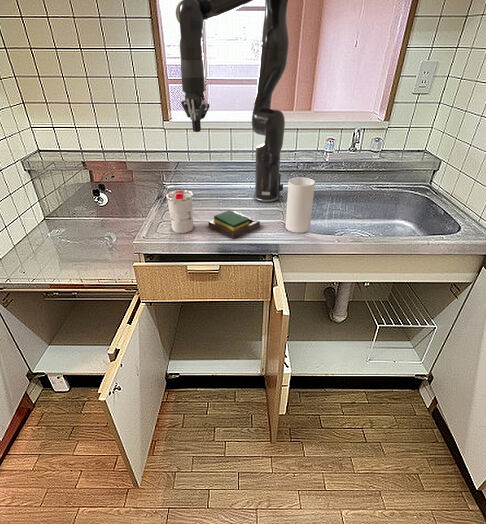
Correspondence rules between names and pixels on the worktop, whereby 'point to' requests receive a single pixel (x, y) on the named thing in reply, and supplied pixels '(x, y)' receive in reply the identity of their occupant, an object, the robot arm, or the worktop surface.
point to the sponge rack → (234, 234)
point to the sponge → (231, 220)
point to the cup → (299, 204)
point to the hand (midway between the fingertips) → (196, 131)
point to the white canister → (180, 210)
